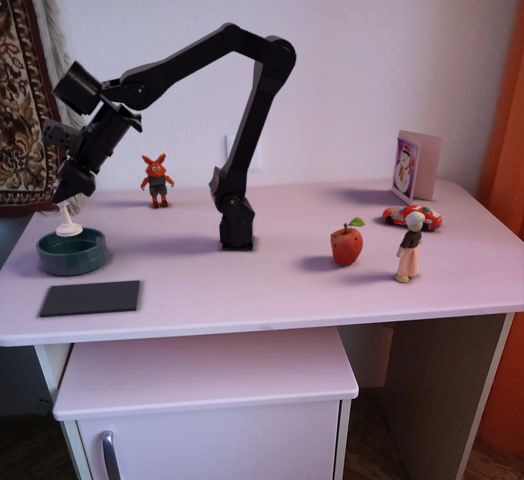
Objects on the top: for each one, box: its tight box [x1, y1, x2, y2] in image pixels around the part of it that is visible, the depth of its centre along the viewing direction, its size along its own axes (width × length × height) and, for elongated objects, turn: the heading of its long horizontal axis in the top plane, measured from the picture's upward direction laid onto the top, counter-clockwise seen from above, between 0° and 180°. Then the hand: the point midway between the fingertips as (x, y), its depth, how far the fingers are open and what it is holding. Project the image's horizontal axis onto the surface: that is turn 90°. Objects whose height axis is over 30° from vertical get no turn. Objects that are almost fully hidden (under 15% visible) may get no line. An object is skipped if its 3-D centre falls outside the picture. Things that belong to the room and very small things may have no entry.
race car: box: [381, 204, 443, 232], centre depth 120 cm, size 13×5×4 cm, turn 60°
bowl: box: [35, 226, 110, 276], centre depth 107 cm, size 13×13×4 cm
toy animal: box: [139, 152, 175, 209], centre depth 128 cm, size 8×6×12 cm
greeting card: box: [390, 129, 444, 206], centre depth 131 cm, size 11×7×15 cm, turn 14°
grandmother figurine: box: [394, 211, 425, 284], centre depth 98 cm, size 8×4×13 cm, turn 148°
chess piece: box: [52, 179, 83, 237], centre depth 101 cm, size 5×5×10 cm
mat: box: [39, 279, 141, 318], centre depth 96 cm, size 16×10×1 cm, turn 97°
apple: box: [330, 216, 366, 267], centre depth 103 cm, size 8×7×10 cm
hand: (54, 200), depth 100 cm, fingers closed on chess piece
